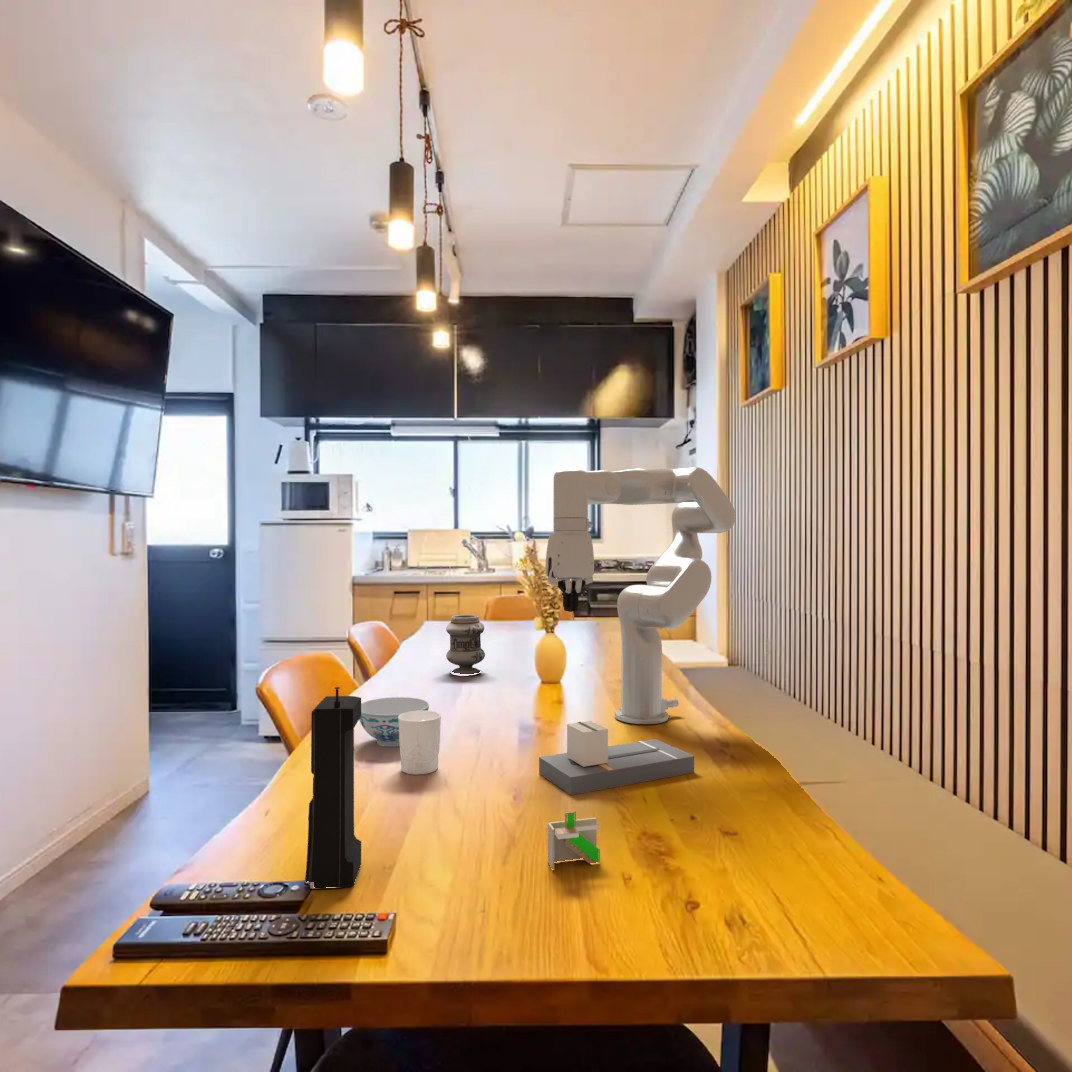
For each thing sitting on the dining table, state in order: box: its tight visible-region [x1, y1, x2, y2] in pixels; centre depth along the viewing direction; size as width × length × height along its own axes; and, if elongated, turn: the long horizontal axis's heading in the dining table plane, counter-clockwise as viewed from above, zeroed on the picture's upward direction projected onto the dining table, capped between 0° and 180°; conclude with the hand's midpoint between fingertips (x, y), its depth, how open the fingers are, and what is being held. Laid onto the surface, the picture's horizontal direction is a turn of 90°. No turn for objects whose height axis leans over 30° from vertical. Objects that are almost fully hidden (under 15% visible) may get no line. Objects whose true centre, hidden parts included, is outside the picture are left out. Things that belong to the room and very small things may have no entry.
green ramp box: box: [547, 810, 601, 870], centre depth 95 cm, size 4×7×8 cm, turn 105°
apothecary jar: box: [445, 614, 486, 674], centre depth 223 cm, size 12×12×18 cm
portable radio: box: [304, 686, 362, 888], centre depth 93 cm, size 8×6×25 cm
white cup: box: [398, 710, 442, 776], centre depth 134 cm, size 8×8×10 cm
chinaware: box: [358, 696, 430, 747], centre depth 151 cm, size 15×15×8 cm
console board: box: [538, 738, 695, 796], centre depth 132 cm, size 26×12×3 cm, turn 116°
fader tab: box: [566, 720, 609, 767], centre depth 129 cm, size 5×6×6 cm
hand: (570, 610), depth 156 cm, fingers closed
